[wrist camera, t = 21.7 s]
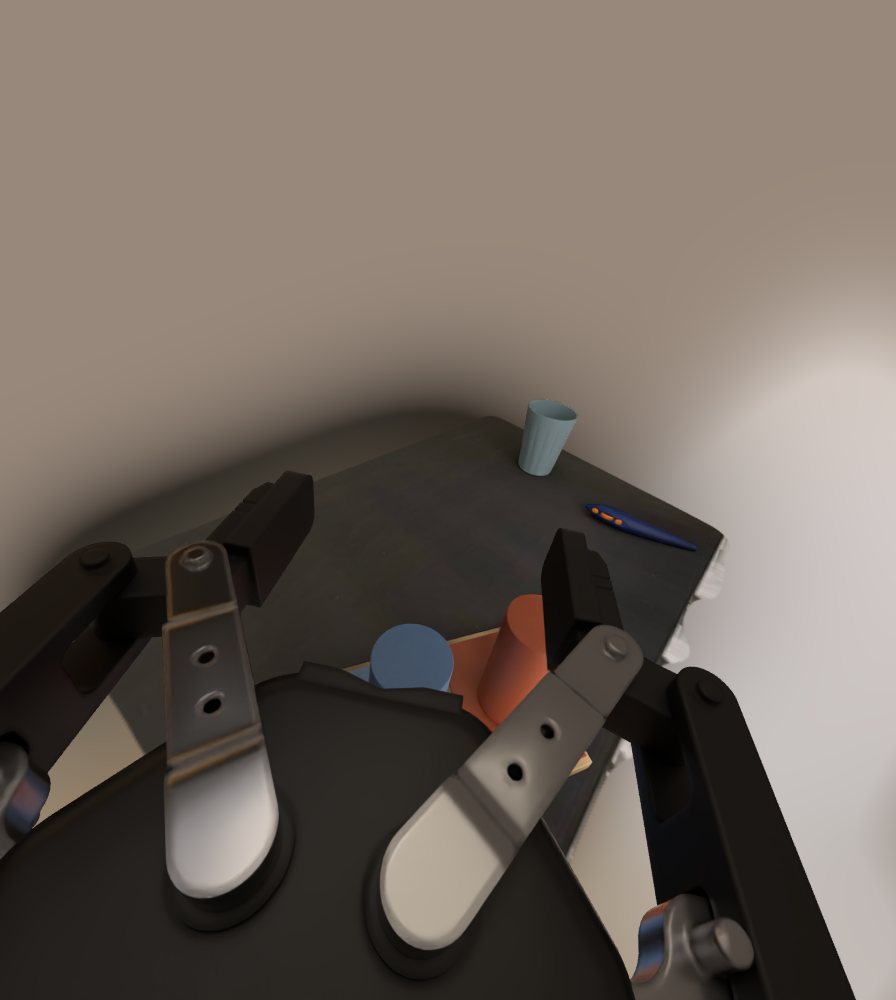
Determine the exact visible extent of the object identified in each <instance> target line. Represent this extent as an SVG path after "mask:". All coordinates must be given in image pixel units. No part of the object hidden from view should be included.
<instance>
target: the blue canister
mask: <svg viewBox="0 0 896 1000" xmlns="http://www.w3.org/2000/svg"><path fill="white" fill-rule="evenodd" d="M453 666H454V660H453V654H452V651H451V648H450V646H449V645H448V643H447V642H446V640H445V639H444V638H443V637H442V636H441V635H440V634H439V633H438V632H436V631H435V630H433V629H431V628H429V627H426V626H423V625H419V624H403V625H399V626H395V627H393V628H391V629H389V630H387V631H386V632H385V633H383V634H382V635H381V636H380V637H379V639H378V640H377V641H376V643H375V644H374V646H373V649H372V652H371V658H370V670H369V683H371V684H373V685H374V686H376V687H379V688H384V689H387V688H413V687H426V688H431V689H436V690H440V691H445V692H447V689H448V686H449V682H450V679H451V675H452V672H453Z"/></svg>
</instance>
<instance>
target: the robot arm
mask: <svg viewBox="0 0 896 1000" xmlns="http://www.w3.org/2000/svg"><path fill="white" fill-rule="evenodd" d="M313 520H314V491H313V479H312V476H311V475H306V474H302V473H298V472H293V471H286V472H284V473H283V475H282V476H281V477H280V478H279V479H278V480H277V482H276V483H275V484H273V483H269V482H267V483H265V484H263V485H261V486H259V487H257V488H255V489H253V490H252V491H251V492H250V493H249V494H248V495H247V496H246V498H245V499H244V500H243V502H241V503H240V504H239V505H238V506H237V507H236V508H235V511H232V512H231V513H230V514H229V516H228V517H227V518H226V519H225V520H224V521H223V522H222V523H221V524H220V525H219V526H218V527H217V528H216V529H215V530H214V531H213V532H212V533H211V535H210V536H209V537H208V538H207V539H206V540H202V541H194V542H190V543H187V544H184V545H182V546H180V547H178V548H176V549H175V550H174V551H172V552H171V553H170V554H169V555H168V556H166V557H140V558H133V556H132V554H131V551H130V549H129V548H128V547H127V546H126V545H124V544H121V543H117V542H101V543H96V544H91V545H88V546H85V547H82V548H81V549H78V550H76V551H75V552H73V553H71V554H70V555H69V556H67V557H66V558H65V559H64V560H62V561H61V562H60V563H59V564H58V565H57V566H55V567H54V568H53V569H52V570H51V571H49V572H48V573H47V574H46V575H45V576H43V577H42V578H41V579H40V580H39V581H37V582H36V583H35V584H34V585H33V586H32V587H30V588H29V589H28V590H27V591H25V592H24V593H23V594H22V595H21V596H19V597H18V598H17V599H16V600H15V601H14V602H12V603H11V604H10V605H9V606H8V607H6V608H5V609H4V610H3V611H2V612H0V1000H856V999H855V996H854V994H853V991H852V989H851V986H850V983H849V981H848V978H847V976H846V973H845V971H844V969H843V966H842V963H841V961H840V958H839V956H838V954H837V951H836V948H835V946H834V943H833V941H832V938H831V936H830V933H829V931H828V928H827V926H826V923H825V920H824V918H823V916H822V913H821V910H820V908H819V906H818V903H817V901H816V898H815V895H814V893H813V890H812V888H811V885H810V883H809V880H808V878H807V875H806V873H805V870H804V868H803V865H802V863H801V860H800V857H799V855H798V852H797V850H796V847H795V845H794V843H793V840H792V838H791V835H790V832H789V830H788V827H787V825H786V822H785V820H784V817H783V815H782V812H781V810H780V807H779V805H778V803H777V800H776V797H775V795H774V792H773V790H772V787H771V785H770V782H769V779H768V777H767V775H766V772H765V770H764V767H763V764H762V762H761V759H760V757H759V754H758V752H757V749H756V747H755V744H754V742H753V739H752V737H751V734H750V732H749V729H748V727H747V724H746V721H745V719H744V716H743V714H742V712H741V709H740V706H739V704H738V701H737V699H736V697H735V695H734V694H733V692H732V691H731V690H730V689H729V687H728V686H727V685H726V684H725V683H724V682H723V681H722V680H721V679H719V678H718V677H717V676H715V675H714V674H712V673H710V672H709V671H706V670H704V669H701V668H698V667H686V668H683V669H682V670H681V671H680V672H679V673H678V674H676V673H673V672H672V671H670V670H667V669H665V668H664V667H661V666H659V665H657V664H655V663H653V662H652V661H650V660H648V659H646V658H645V657H643V654H642V651H641V649H640V647H639V645H638V644H637V642H636V641H635V640H634V639H633V638H632V637H631V636H630V635H629V634H627V633H626V632H624V630H623V626H622V622H621V618H620V614H619V611H618V607H617V603H616V599H615V595H614V592H613V591H612V590H613V587H612V584H611V581H610V576H609V572H608V568H607V565H606V563H605V562H604V561H603V559H602V558H601V557H600V555H599V554H598V552H595V551H590V550H588V549H587V544H586V539H585V535H584V533H582V532H577V531H572V530H568V529H563V528H559V529H558V530H557V532H556V534H555V537H554V539H553V542H552V544H551V547H550V549H549V552H548V554H547V556H546V559H545V561H544V564H543V568H542V574H541V588H542V602H543V617H544V631H545V645H546V659H547V670H549V672H548V673H547V674H546V675H545V676H544V677H543V678H542V679H541V680H540V681H539V682H538V684H537V685H536V686H535V687H534V688H533V689H532V690H531V691H530V692H529V693H528V694H527V696H526V697H525V698H524V699H523V700H522V701H521V702H520V703H519V704H518V705H517V707H516V708H515V709H514V710H513V711H512V712H511V713H510V714H509V715H508V716H507V717H506V719H505V720H504V721H503V722H502V723H501V724H500V725H499V726H498V727H497V728H496V729H495V731H494V732H492V731H491V730H490V729H489V728H488V727H487V726H486V725H485V724H484V723H483V722H482V721H481V720H480V719H478V718H477V717H476V716H474V715H473V714H471V713H470V712H468V711H466V710H464V709H463V708H462V706H463V695H459V694H454V693H449V692H445V691H440V690H436V689H431V688H426V687H413V688H387V689H384V688H379V687H376V686H374V685H373V684H371V683H369V682H367V681H365V680H363V679H361V678H359V677H357V676H355V675H353V674H351V673H349V672H347V671H345V670H343V669H339V668H334V667H329V666H325V665H320V664H315V663H311V662H306V661H304V663H303V665H302V667H301V669H300V672H299V673H297V674H288V675H282V676H278V677H274V678H271V679H269V680H266V681H263V682H261V683H259V684H257V685H255V684H254V679H253V674H252V669H251V665H250V660H249V655H248V650H247V645H246V640H245V635H244V631H243V626H242V621H241V616H240V613H241V612H242V610H243V609H244V608H245V606H246V605H252V606H256V607H261V606H262V604H263V603H264V601H265V600H266V598H267V597H268V595H269V594H270V592H271V590H272V589H273V587H274V586H275V584H276V583H277V581H278V580H279V578H280V576H281V575H282V573H283V572H284V570H285V569H286V567H287V566H288V564H289V563H290V561H291V559H292V558H293V556H294V555H295V553H296V552H297V550H298V549H299V547H300V545H301V544H302V542H303V541H304V539H305V538H306V536H307V535H308V533H309V531H310V529H311V527H312V524H313ZM89 624H90V625H89ZM88 625H89V626H88ZM87 626H88V627H87ZM86 627H87V628H86ZM85 628H86V629H85ZM84 629H85V630H84ZM161 636H162V644H163V669H164V694H165V719H166V742H165V743H163V744H162V745H160V746H158V747H157V748H155V749H154V750H152V751H151V752H149V753H147V754H146V755H144V756H143V757H141V758H140V759H138V760H136V761H135V762H133V763H132V764H130V765H129V766H127V767H126V768H124V769H123V770H121V771H119V772H118V773H116V774H115V775H113V776H111V777H110V778H108V779H107V780H105V781H104V782H102V783H101V784H99V785H97V786H96V787H94V788H93V789H91V790H90V791H88V792H86V793H85V794H83V795H82V796H80V797H79V798H77V799H76V800H74V801H72V802H71V803H69V804H68V805H66V806H65V807H63V808H61V809H60V810H58V811H57V812H55V813H54V814H52V815H51V816H49V817H48V818H46V819H45V820H43V821H42V822H41V823H39V824H38V825H36V826H35V827H34V825H35V824H36V823H37V821H38V819H39V816H40V811H41V809H42V807H43V806H44V804H45V802H46V800H47V798H48V795H49V792H50V784H51V783H50V777H49V775H48V771H49V770H50V769H51V767H52V766H53V765H54V764H55V763H56V761H57V760H58V759H59V757H60V756H61V755H62V753H63V752H64V751H65V750H66V748H67V747H68V746H69V744H70V743H71V742H72V740H73V739H74V738H75V737H76V735H77V734H78V733H79V731H80V730H81V729H82V727H83V726H84V725H85V724H86V722H87V721H88V720H89V718H90V717H91V716H92V714H93V713H94V712H95V711H96V709H97V708H98V707H99V706H100V704H101V703H102V702H103V700H104V699H105V698H106V696H107V695H108V694H109V693H110V691H111V690H112V689H113V687H114V686H115V685H116V683H117V682H118V681H119V680H120V678H121V677H122V676H123V674H124V673H125V672H126V671H127V669H128V668H129V667H130V665H131V664H132V663H133V661H134V660H135V659H136V658H137V656H138V655H139V654H140V652H141V651H142V650H143V648H144V647H145V646H146V645H147V643H148V642H149V641H150V639H151V638H152V637H161ZM76 638H77V639H76ZM75 639H76V640H75ZM74 640H75V641H74ZM73 641H74V642H73ZM72 642H73V643H72ZM71 643H72V644H71ZM70 644H71V645H70ZM602 727H603V728H605V729H607V730H609V731H610V732H612V733H614V734H616V735H618V736H619V737H621V738H623V739H625V740H627V741H628V742H630V743H631V747H632V753H633V759H634V765H635V772H636V778H637V784H638V790H639V796H640V802H641V809H642V815H643V820H644V827H645V833H646V839H647V846H648V852H649V858H650V864H651V870H652V876H653V883H654V888H655V895H656V901H657V906H656V907H654V908H652V909H650V910H649V911H648V912H647V913H646V914H645V915H644V916H643V918H642V920H641V924H640V927H639V934H638V945H639V946H638V947H639V955H638V963H637V967H636V970H635V973H634V975H633V977H632V978H631V979H629V975H628V973H627V970H626V968H625V965H624V963H623V960H622V958H621V956H620V954H619V952H618V949H617V948H616V946H615V944H614V942H613V940H612V938H611V937H610V935H609V933H608V931H607V930H606V928H605V927H604V924H603V923H602V921H601V919H600V917H599V916H598V914H597V912H596V911H595V909H594V907H593V905H592V903H591V902H590V900H589V898H588V896H587V894H586V893H585V891H584V889H583V887H582V886H581V884H580V882H579V880H578V878H577V877H576V875H575V873H574V872H573V870H572V868H571V866H570V864H569V863H568V861H567V859H566V857H565V856H564V854H563V852H562V850H561V848H560V847H559V845H558V843H557V841H556V840H555V838H554V836H553V834H552V833H551V831H550V829H549V827H548V826H547V824H546V822H545V820H544V818H543V817H542V815H543V813H544V812H545V810H546V809H547V807H548V806H549V804H550V803H551V801H552V800H553V798H554V797H555V795H556V794H557V793H558V791H559V790H560V788H561V787H562V785H563V784H564V782H565V781H566V779H567V778H568V776H569V775H570V773H571V772H572V770H573V769H574V767H575V766H576V765H577V763H578V762H579V760H580V759H581V757H582V756H583V754H584V753H585V751H586V750H587V748H588V747H589V745H590V744H591V742H592V741H593V739H594V738H595V736H596V735H597V734H598V732H599V731H600V729H601V728H602ZM33 827H34V828H33ZM32 828H33V829H32Z"/></svg>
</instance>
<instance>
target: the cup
mask: <svg viewBox="0 0 896 1000" xmlns="http://www.w3.org/2000/svg"><path fill="white" fill-rule="evenodd" d="M577 418H578V414H577V412H576V411H575V410H573V409H572V408H571V407H569V406H567V405H564V404H562V403H559V402H556V401H551V400H545V399H536V400H532V401H530V402H529V404H528V410H527V415H526V422H525V427H524V433H523V439H522V444H521V450H520V456H519V466H520V468H521V469H522V470H524V471H525V472H527V473H529V474H532V475H536V476H545V475H548V474H549V473H550V472H551V470H552V468H553V466H554V464H555V462H556V460H557V458H558V456H559V454H560V452H561V450H562V448H563V446H564V444H565V442H566V440H567V438H568V436H569V434H570V432H571V430H572V428H573V427H574V425H575V422H576V421H577Z"/></svg>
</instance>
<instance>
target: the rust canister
mask: <svg viewBox="0 0 896 1000" xmlns="http://www.w3.org/2000/svg"><path fill="white" fill-rule="evenodd" d="M548 672H549V670H547V659H546V645H545V631H544V617H543V602H542V596H541V595H536V594H527V595H522V596H519V597H517V598H516V599H514V600H513V601H512V602H511V603H510V604H509V606H508V608H507V611H506V614H505V616H504V619H503V622H502V624H501V627H500V630H499V632H498V635H497V638H496V640H495V643H494V646H493V649H492V651H491V654H490V657H489V659H488V662H487V665H486V667H485V670H484V673H483V675H482V678H481V681H480V684H479V687H478V697H479V701H480V704H481V706H482V708H483V710H484V712H485V713H486V714H487V715H488V717H490V718H491V719H492V720H493V721H494V722H496V723H498V724H501V723H502V722H503V721H504V720H505V719H506V717H507V716H508V715H509V714H510V713H511V712H512V711H513V710H514V709H515V708H516V707H517V705H518V704H519V703H520V702H521V701H522V700H523V699H524V698H525V697H526V696H527V694H528V693H529V692H530V691H531V690H532V689H533V688H534V687H535V686H536V685H537V684H538V682H539V681H540V680H541V679H542V678H543V677H544V676H545V675H546V674H547V673H548Z"/></svg>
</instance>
